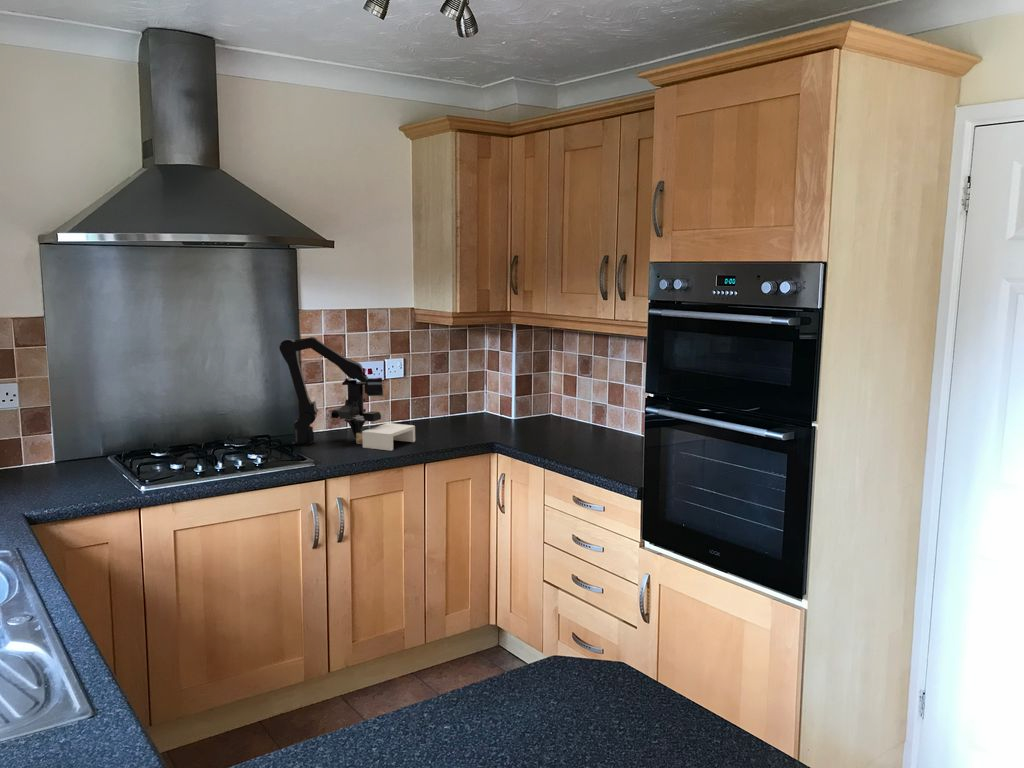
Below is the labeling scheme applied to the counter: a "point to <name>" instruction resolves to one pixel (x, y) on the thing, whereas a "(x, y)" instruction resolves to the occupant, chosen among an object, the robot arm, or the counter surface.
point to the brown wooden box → (359, 438)
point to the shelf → (387, 435)
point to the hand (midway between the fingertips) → (356, 437)
